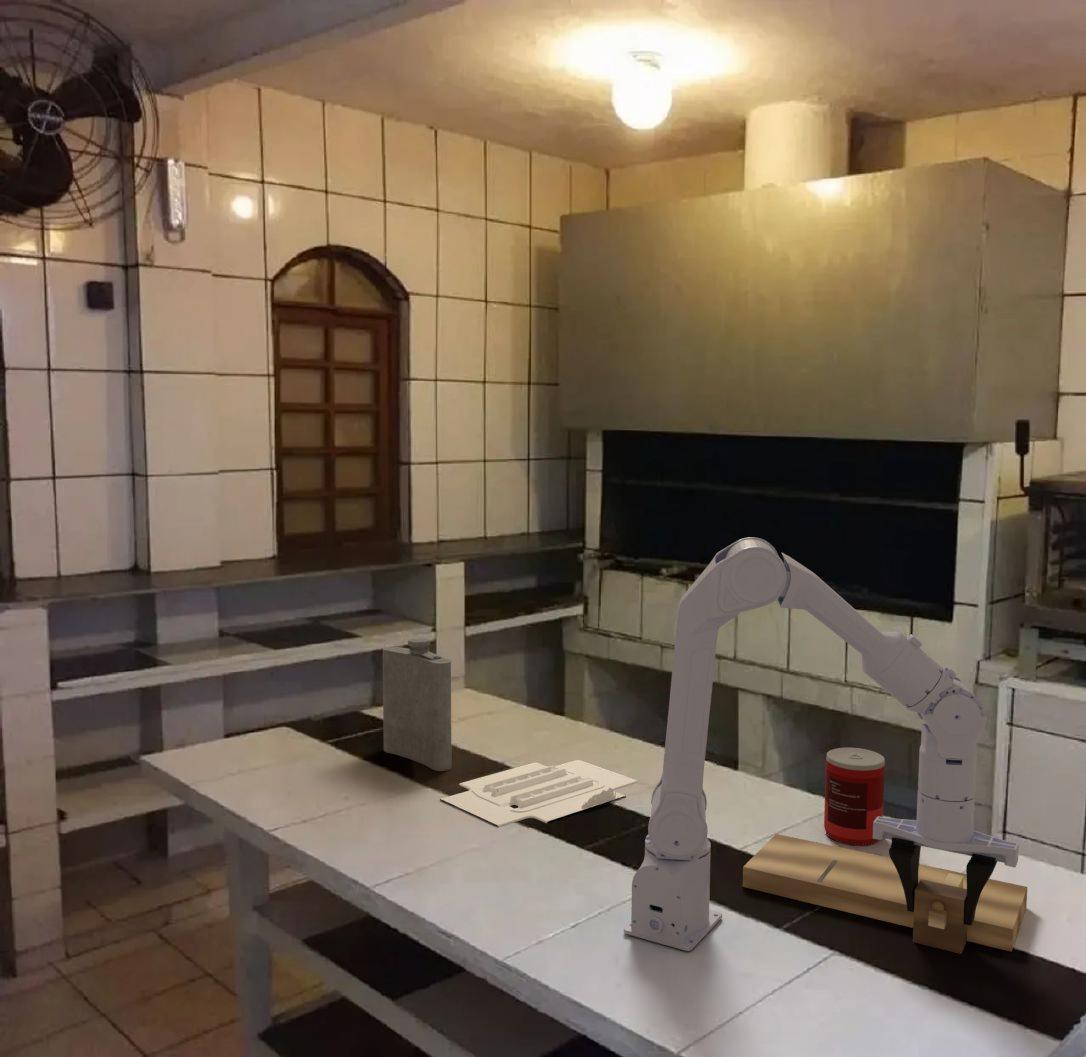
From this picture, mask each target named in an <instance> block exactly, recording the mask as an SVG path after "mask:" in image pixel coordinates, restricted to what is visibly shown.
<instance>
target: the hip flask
mask: <svg viewBox="0 0 1086 1057" xmlns="http://www.w3.org/2000/svg"><path fill="white" fill-rule="evenodd" d="M407 645H408V646H409V647H400V646H386V647H383V648H382V709H383V710H382V712H383V715H382V716H383V718H382V719H383V720H382V721H383V722H382V723H383V726H382V727H383V731H382V732H383V751H384V752H385V753H387V754H392V755H395V756H399V757H401V758H406V759H409V760H411V761H414V762H416V763H420V764H422V765H424V766H426V767H428V768H429V769H431V770H433V771H436V772H445V771H446V772H447V771H449V770H451V769H452V660H451V659H449V658H446V657H444V656H441V655H438V654H437V653H434V652H432V651H430V647H429V646H431V639H430V638H427V637H413V638H409V639H408V640H407Z"/></svg>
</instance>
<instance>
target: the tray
mask: <svg viewBox="0 0 1086 1057" xmlns="http://www.w3.org/2000/svg"><path fill="white" fill-rule="evenodd" d="M638 781H639V780H637V779H634V778H631V777H630V776H627V775H623V774H621V773H617V772H615V771H612V770H608V769H606V768H603V767H600V766H598V765H595V764H592V763H589V762H586V761H583V760H581V759H576V760H572V761H568V762H565V763H562V764H559V765H553V764H552V765H551V766H550V765H549V766H547V765H544V764H541V763H539V762H532V763H529V764H525V765H521V766H517V767H513V768H510V769H507V770H503V771H499V772H496V773H491V774H489V775H485V776H482V777H477V778H475V779H470V780H467V781H464V782H460V783H459V785H460V786H459V785H458V786H459V787H462V788H464V789H467V791H464V792H463V791H462V792H460V793H455V794H453V795H450V796H446V797H445V796H444V797H442V798H440V799H439V801H445V802H446V803H448V804H451V805H454V806H455V807H457V808H459V809H461V810H464V811H466V812H467V813H471V815H472V814H473V815H475V816H477V817H480V818H481V819H483V820H486V821H488V822H489V823H492V824H493V825H496V826H497V828H500V827H504V826H508V825H510V824H513V823H516V822H519V821H522V820H525V819H536V820H537V821H540V822H542V823H544V824H548V822H550V821H553V820H556V819H558V818H562V817H565V816H568V815H571V814H574V813H577V812H580V811H583V810H586V809H589V808H593V807H595V806H598V805H602V804H605V803H607V802H610V801H615V800H616V799H620V798H622V797H624V798H627V796H626V795H625V794H622V793H619V792H616V791H615V790H619V789H622V788H625V787H628V786H631V785H634V784H637V783H639V782H638ZM514 805H515V806H517V807H516V808H514V807H512V806H514ZM509 823H510V824H509Z"/></svg>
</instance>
